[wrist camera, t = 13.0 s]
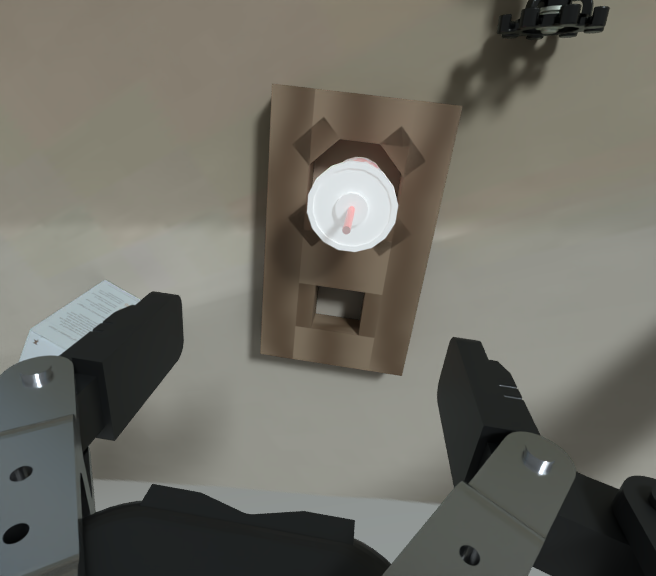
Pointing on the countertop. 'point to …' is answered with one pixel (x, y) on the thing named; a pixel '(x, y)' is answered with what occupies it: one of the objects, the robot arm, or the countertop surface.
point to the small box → (75, 320)
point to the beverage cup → (352, 205)
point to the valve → (554, 19)
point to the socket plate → (345, 266)
